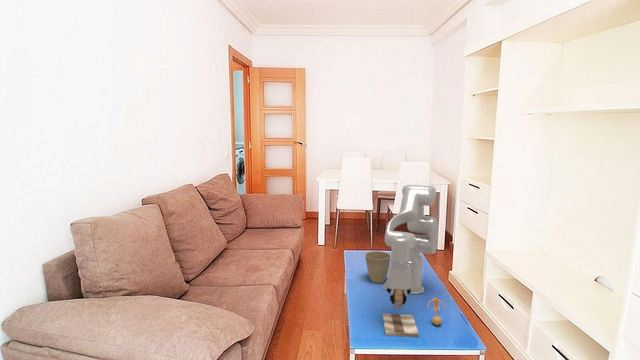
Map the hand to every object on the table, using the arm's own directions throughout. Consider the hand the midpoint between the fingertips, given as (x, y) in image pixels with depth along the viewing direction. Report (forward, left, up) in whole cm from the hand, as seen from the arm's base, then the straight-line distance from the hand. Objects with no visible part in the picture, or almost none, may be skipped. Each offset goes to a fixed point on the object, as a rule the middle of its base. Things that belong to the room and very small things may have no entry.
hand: (398, 302), depth 162 cm
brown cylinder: (0, 0, -2) cm, 2 cm away
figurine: (-4, +18, -12) cm, 22 cm away
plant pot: (-50, -6, -12) cm, 52 cm away
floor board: (0, +1, -12) cm, 12 cm away
